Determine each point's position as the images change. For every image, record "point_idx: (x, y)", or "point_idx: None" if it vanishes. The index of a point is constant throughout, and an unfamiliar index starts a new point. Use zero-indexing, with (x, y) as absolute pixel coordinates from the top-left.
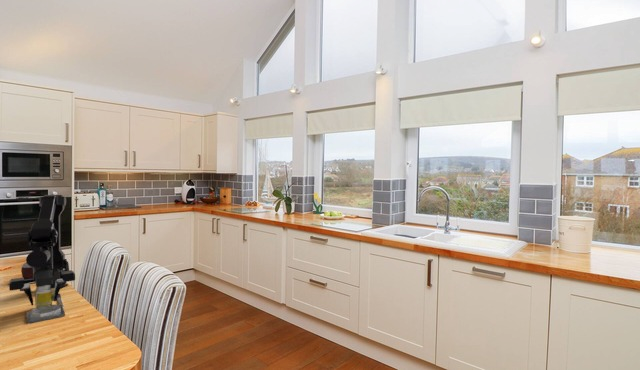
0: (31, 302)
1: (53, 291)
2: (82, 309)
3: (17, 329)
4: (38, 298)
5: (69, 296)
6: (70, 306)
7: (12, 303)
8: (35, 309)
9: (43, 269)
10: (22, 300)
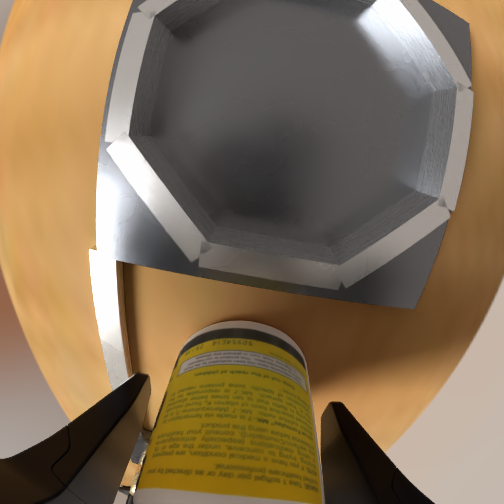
0: (353, 422)
1: None
2: (23, 56)
3: (493, 7)
4: (308, 442)
5: None
6: (53, 209)
7: None
8: (398, 224)
9: None
10: None
